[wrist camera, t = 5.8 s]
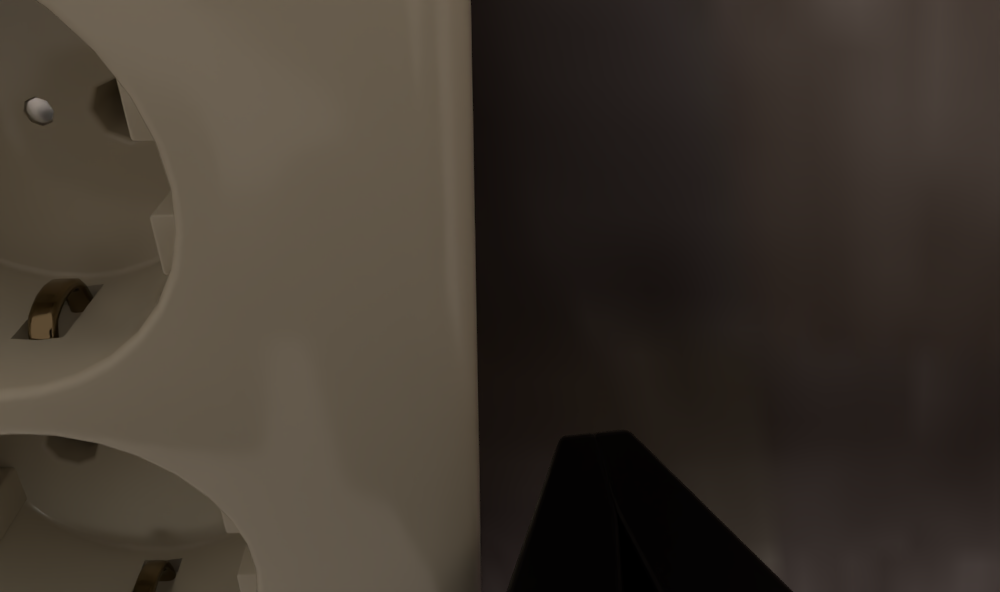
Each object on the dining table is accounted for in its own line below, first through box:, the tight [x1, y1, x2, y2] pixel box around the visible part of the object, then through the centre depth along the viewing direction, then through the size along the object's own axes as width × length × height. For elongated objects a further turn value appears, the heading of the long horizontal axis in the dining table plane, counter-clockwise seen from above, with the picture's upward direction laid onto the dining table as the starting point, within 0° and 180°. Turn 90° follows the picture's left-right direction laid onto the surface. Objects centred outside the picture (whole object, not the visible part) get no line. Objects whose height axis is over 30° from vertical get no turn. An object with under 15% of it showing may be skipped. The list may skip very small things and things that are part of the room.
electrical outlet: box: [0, 0, 482, 592], centre depth 10 cm, size 7×4×18 cm
